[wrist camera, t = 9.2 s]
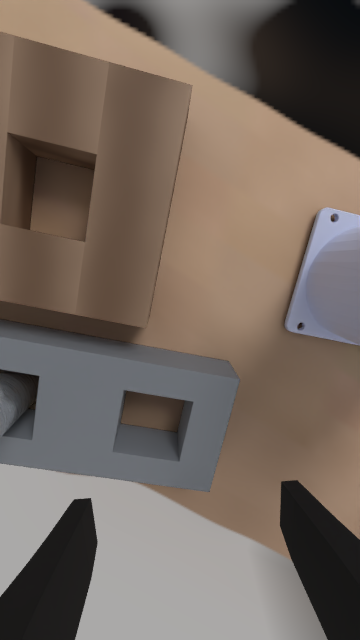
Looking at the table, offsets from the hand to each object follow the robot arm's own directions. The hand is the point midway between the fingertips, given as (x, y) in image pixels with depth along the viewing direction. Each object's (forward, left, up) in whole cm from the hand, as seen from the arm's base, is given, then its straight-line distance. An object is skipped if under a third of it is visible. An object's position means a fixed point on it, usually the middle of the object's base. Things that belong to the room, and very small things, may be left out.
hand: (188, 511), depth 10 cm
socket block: (+9, -11, -9) cm, 17 cm away
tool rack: (+6, +1, -9) cm, 11 cm away
